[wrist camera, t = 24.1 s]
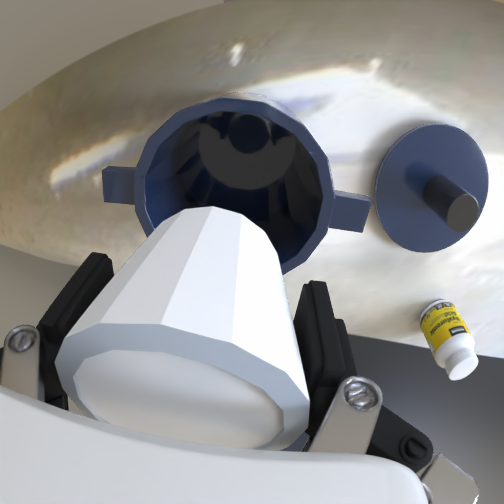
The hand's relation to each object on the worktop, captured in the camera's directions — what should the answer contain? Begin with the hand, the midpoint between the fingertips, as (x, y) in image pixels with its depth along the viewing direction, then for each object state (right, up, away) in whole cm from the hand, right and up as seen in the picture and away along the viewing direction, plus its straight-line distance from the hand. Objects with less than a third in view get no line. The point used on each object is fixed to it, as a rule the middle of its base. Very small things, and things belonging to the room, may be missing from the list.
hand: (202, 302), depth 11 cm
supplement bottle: (+26, -6, +25) cm, 36 cm away
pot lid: (+20, +8, +16) cm, 26 cm away
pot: (+1, +10, +16) cm, 19 cm away
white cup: (0, +1, +2) cm, 2 cm away
